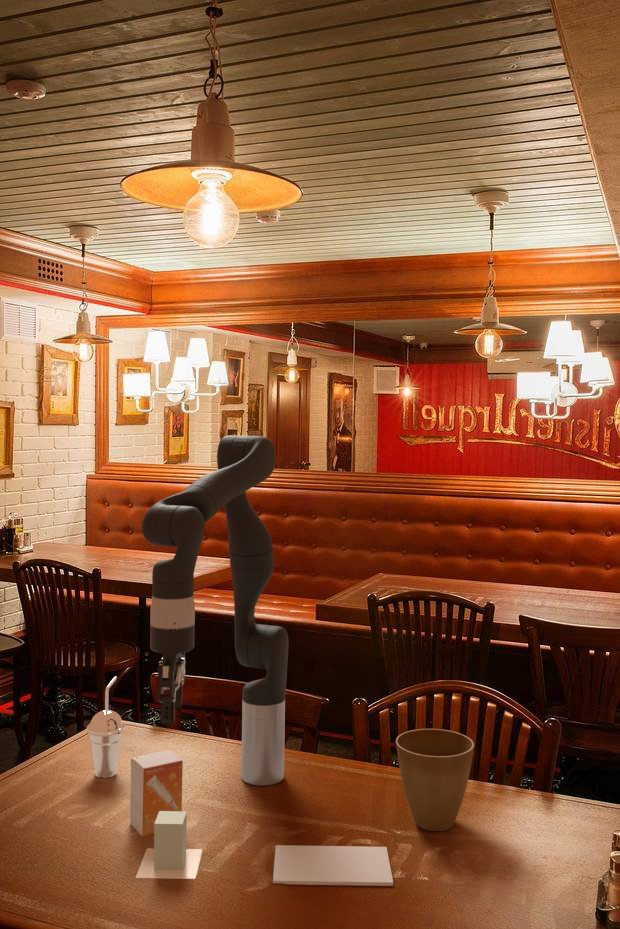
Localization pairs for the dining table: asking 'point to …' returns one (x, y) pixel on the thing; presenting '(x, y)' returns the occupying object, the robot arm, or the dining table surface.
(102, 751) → the cup with straw
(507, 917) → the dining table surface
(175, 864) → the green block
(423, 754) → the plant pot
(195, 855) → the tile
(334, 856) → the white rectangular board
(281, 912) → the dining table surface
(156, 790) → the small box
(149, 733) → the dining table surface
